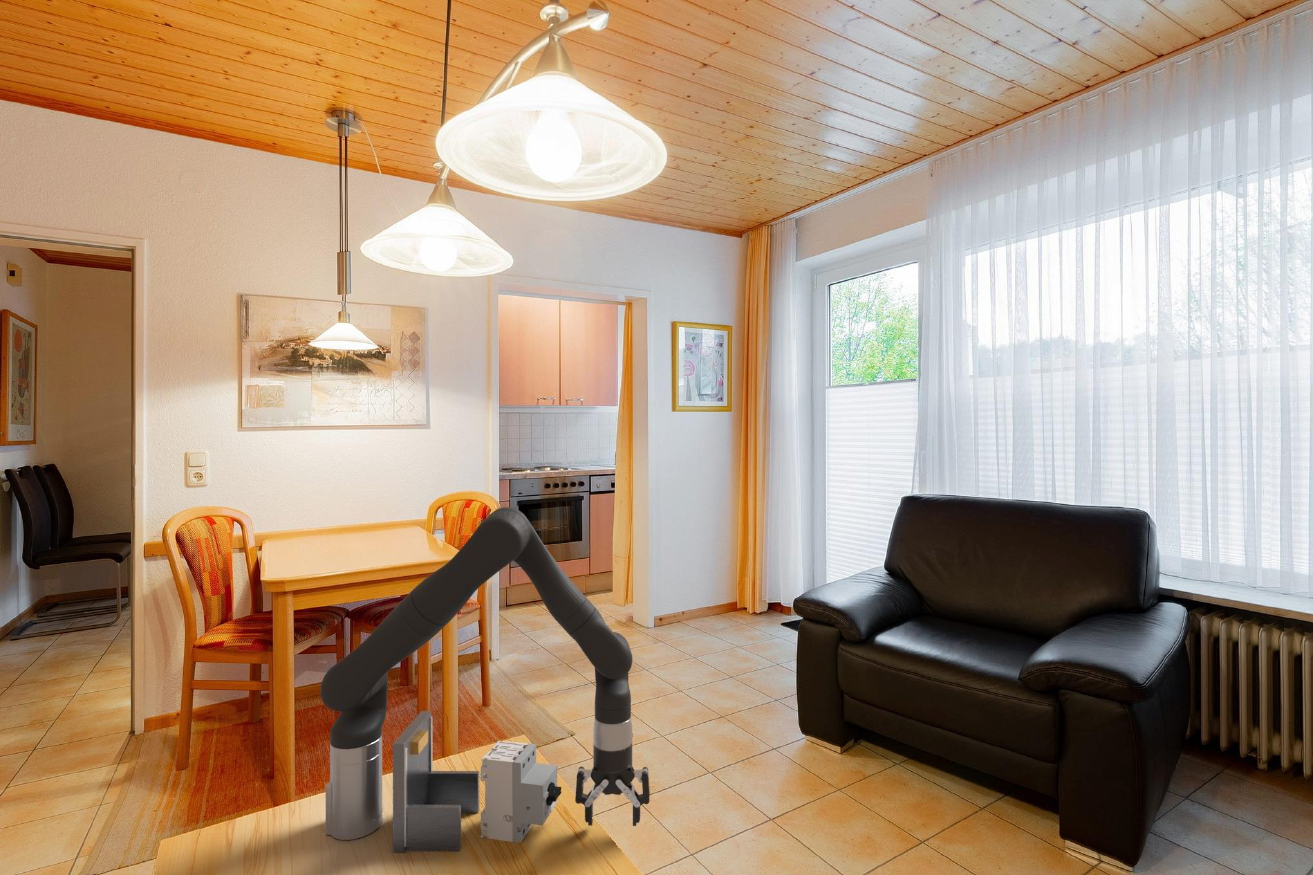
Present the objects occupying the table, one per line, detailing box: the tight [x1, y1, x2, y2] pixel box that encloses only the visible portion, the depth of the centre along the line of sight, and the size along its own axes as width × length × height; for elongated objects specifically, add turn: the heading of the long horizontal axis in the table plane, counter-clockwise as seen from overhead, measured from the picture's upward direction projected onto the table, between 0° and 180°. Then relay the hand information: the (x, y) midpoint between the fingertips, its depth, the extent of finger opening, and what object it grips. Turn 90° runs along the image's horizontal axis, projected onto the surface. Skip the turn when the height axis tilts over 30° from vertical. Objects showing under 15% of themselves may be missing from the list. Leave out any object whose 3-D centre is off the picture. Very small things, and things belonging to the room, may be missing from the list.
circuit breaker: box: [480, 740, 562, 843], centre depth 124 cm, size 8×14×15 cm, turn 78°
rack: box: [392, 710, 480, 854], centre depth 124 cm, size 12×14×20 cm
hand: (612, 823), depth 124 cm, fingers open, 8 cm apart
